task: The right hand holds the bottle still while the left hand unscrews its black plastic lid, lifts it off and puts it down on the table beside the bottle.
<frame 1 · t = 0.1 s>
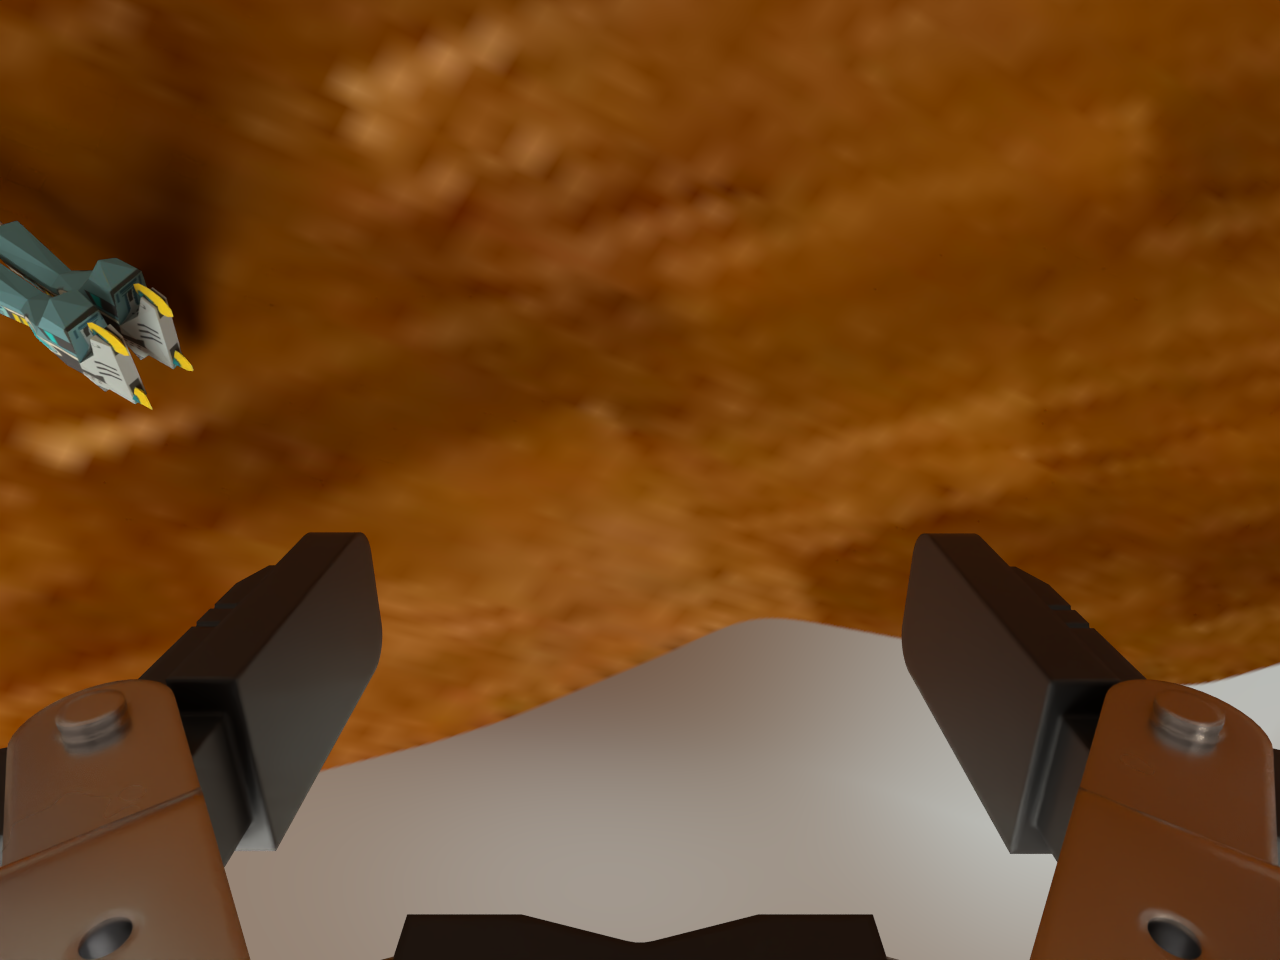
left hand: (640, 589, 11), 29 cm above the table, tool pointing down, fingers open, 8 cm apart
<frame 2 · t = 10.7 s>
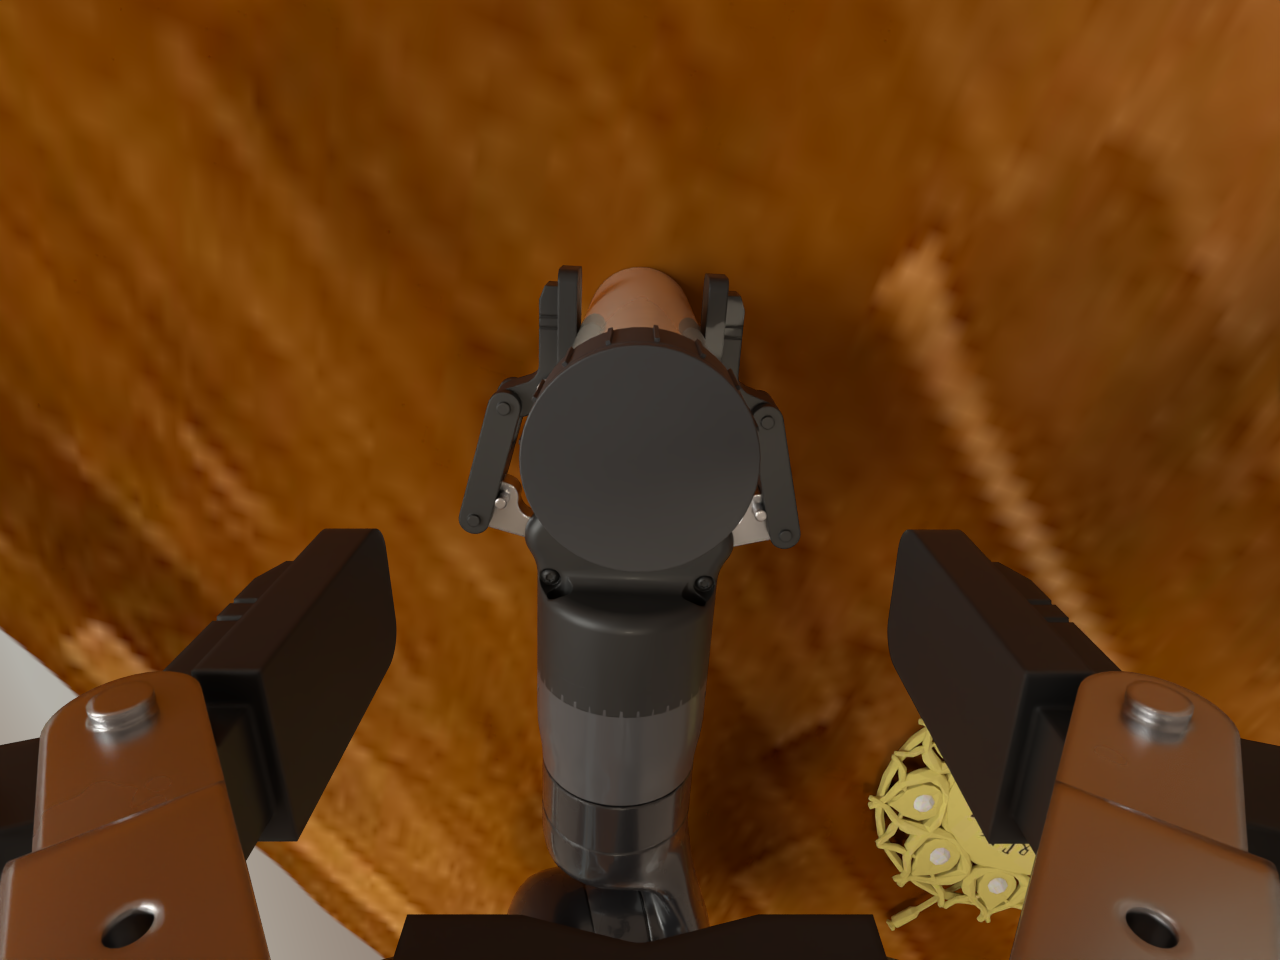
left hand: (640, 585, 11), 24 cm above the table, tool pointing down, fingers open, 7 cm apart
right hand: (642, 274, 27), fingers closed on bottle, 4 cm apart
bottle: (639, 320, 34), on the table, touching right hand
decorative object: (1008, 813, 44), on the table
lid: (640, 460, 16), point 19 cm above the table, screwed on, not yet turned
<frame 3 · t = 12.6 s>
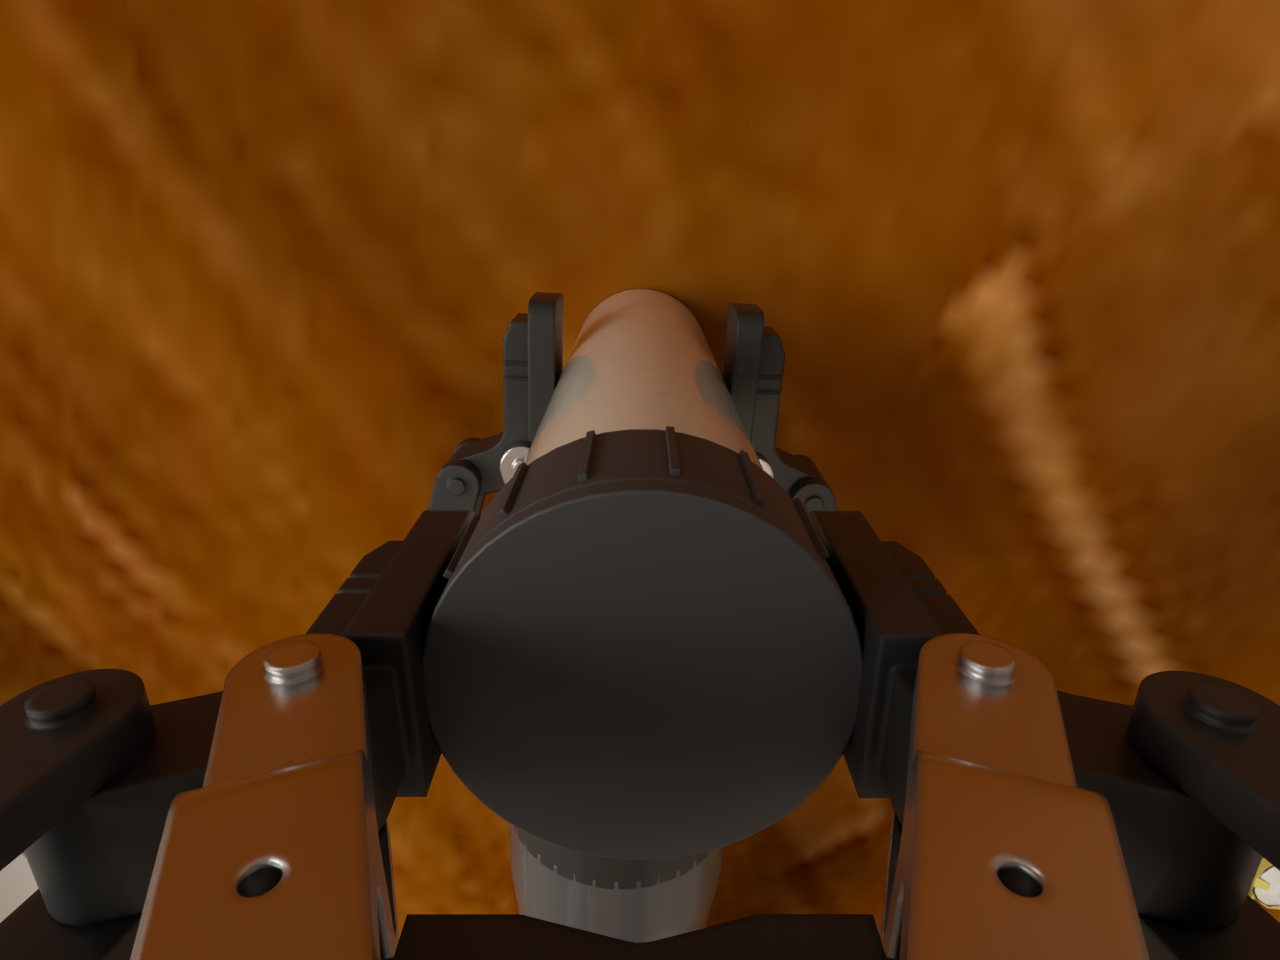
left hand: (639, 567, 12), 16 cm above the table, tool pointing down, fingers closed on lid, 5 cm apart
bottle: (641, 355, 27), on the table, touching right hand
decorative object: (1081, 935, 37), on the table
lid: (642, 677, 9), point 19 cm above the table, screwed on, not yet turned, touching left hand
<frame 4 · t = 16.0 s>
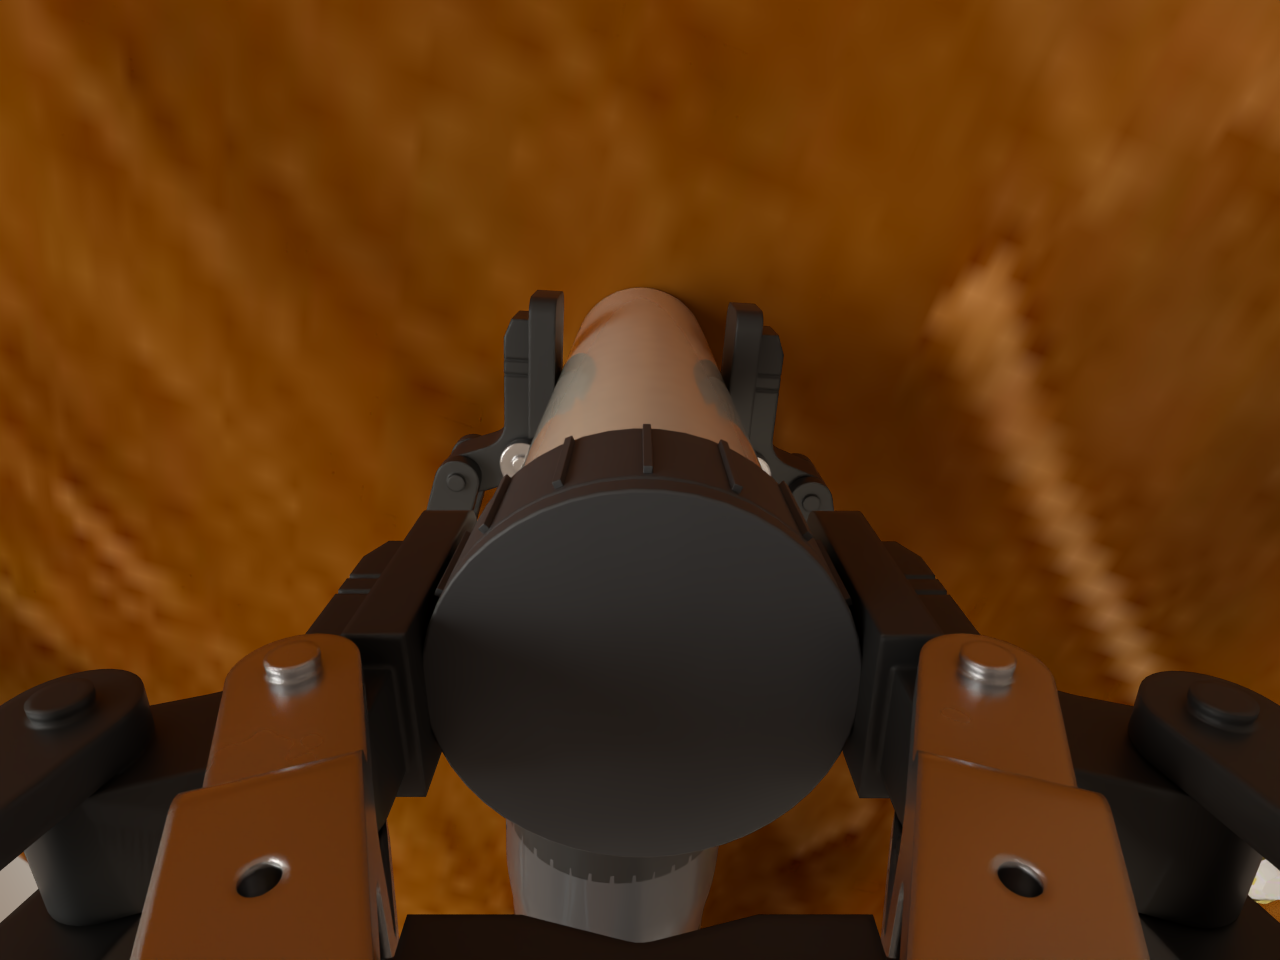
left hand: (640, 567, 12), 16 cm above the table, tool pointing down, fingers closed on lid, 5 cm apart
bottle: (640, 354, 27), on the table, touching right hand
decorative object: (1070, 930, 37), on the table
lid: (641, 675, 9), point 19 cm above the table, turned 74° so far, risen 0.1 cm, still on its thread, touching left hand
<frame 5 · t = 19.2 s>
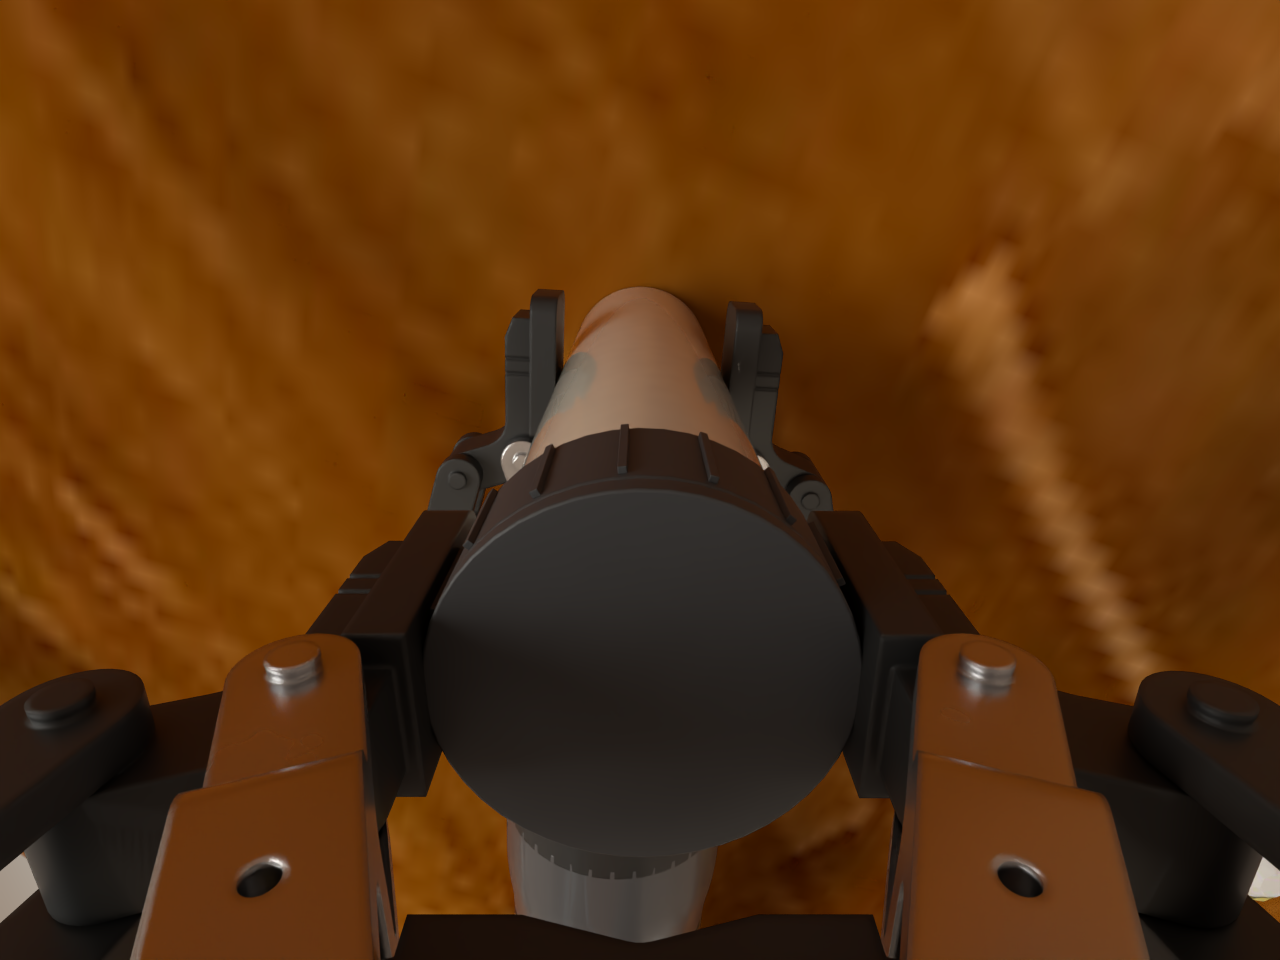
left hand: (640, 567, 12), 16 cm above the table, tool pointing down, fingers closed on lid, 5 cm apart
bottle: (640, 352, 27), on the table, touching right hand
decorative object: (1069, 927, 37), on the table
lid: (642, 675, 9), point 19 cm above the table, turned 148° so far, risen 0.3 cm, still on its thread, touching left hand
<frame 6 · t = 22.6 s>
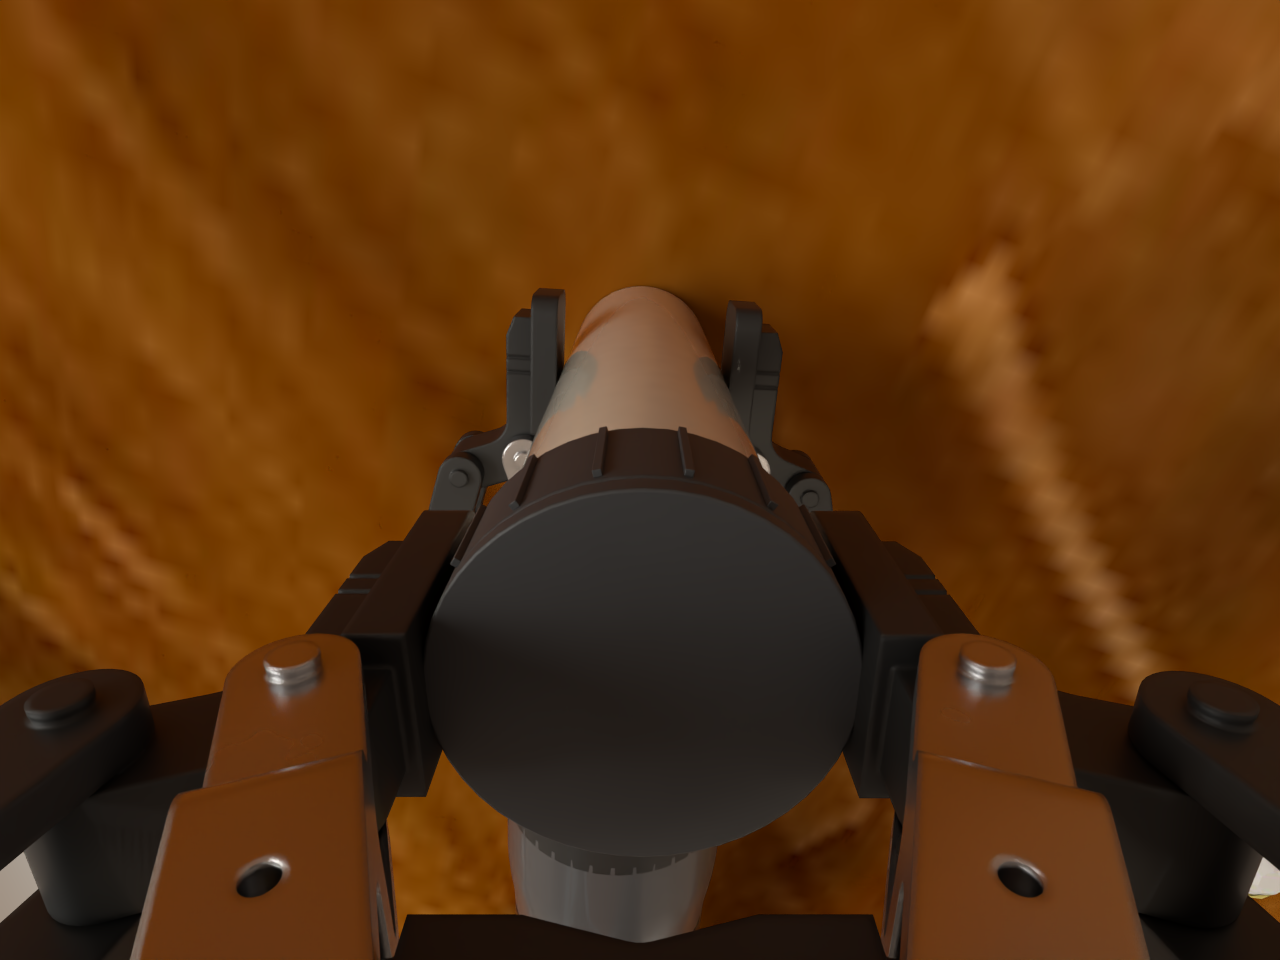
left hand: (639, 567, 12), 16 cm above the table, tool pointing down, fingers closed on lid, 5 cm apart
bottle: (641, 352, 27), on the table, touching right hand
decorative object: (1067, 925, 38), on the table
lid: (642, 675, 9), point 19 cm above the table, turned 222° so far, risen 0.4 cm, still on its thread, touching left hand
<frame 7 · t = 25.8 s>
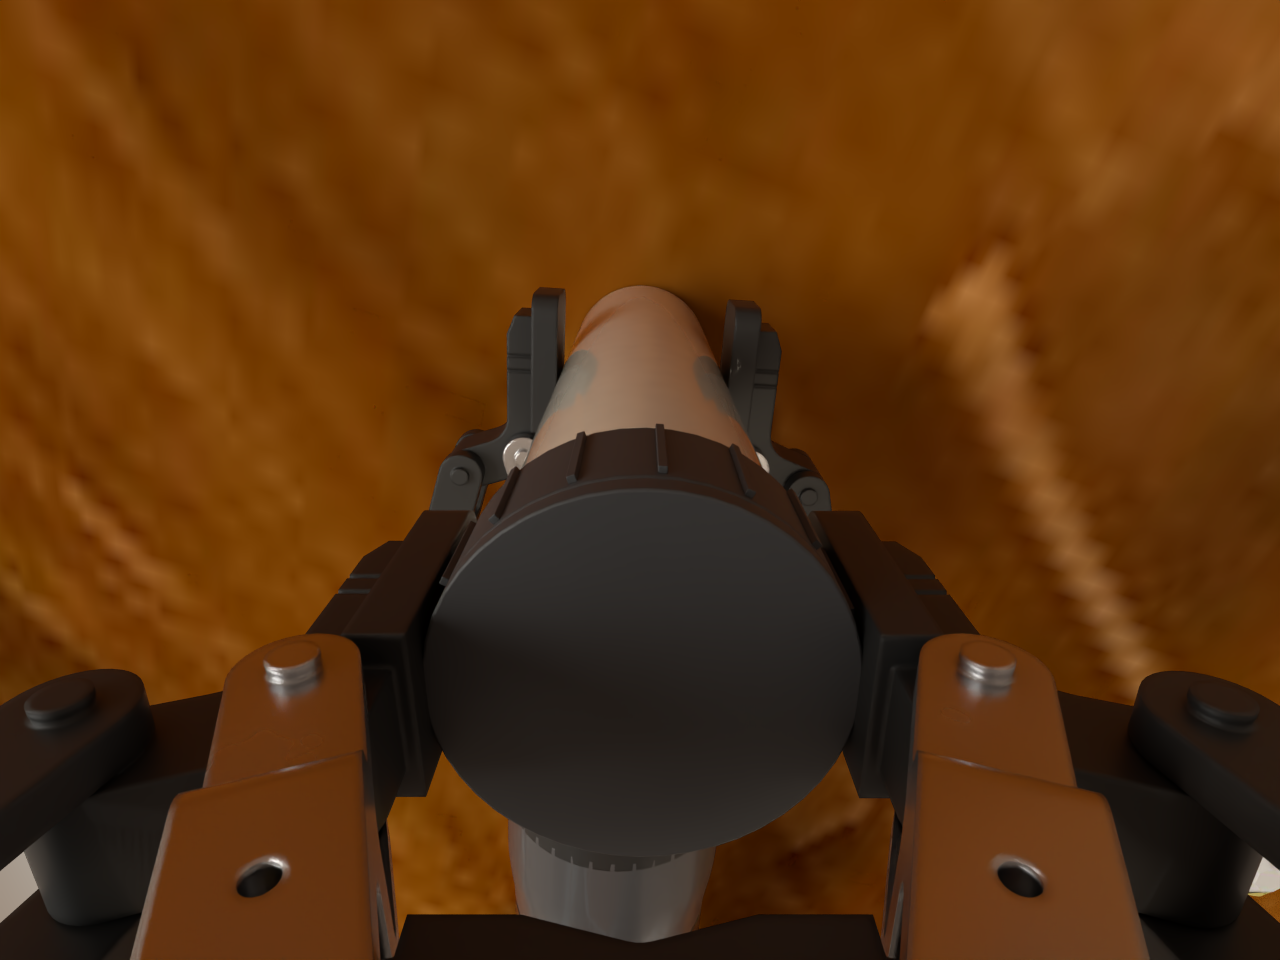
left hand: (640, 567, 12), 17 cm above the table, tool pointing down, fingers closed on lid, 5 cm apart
bottle: (640, 351, 27), on the table, touching right hand
decorative object: (1066, 922, 38), on the table
lid: (642, 675, 9), point 19 cm above the table, turned 296° so far, risen 0.5 cm, still on its thread, touching left hand
when the left hand's fingers open (0 cm above the table, at t = 32.3 s): lid drops 1 cm, point 2 cm above the table.
when the right hand's fingers open (6 cm above the table, at t = 33.4 s): bottle stays where it is, on the table.
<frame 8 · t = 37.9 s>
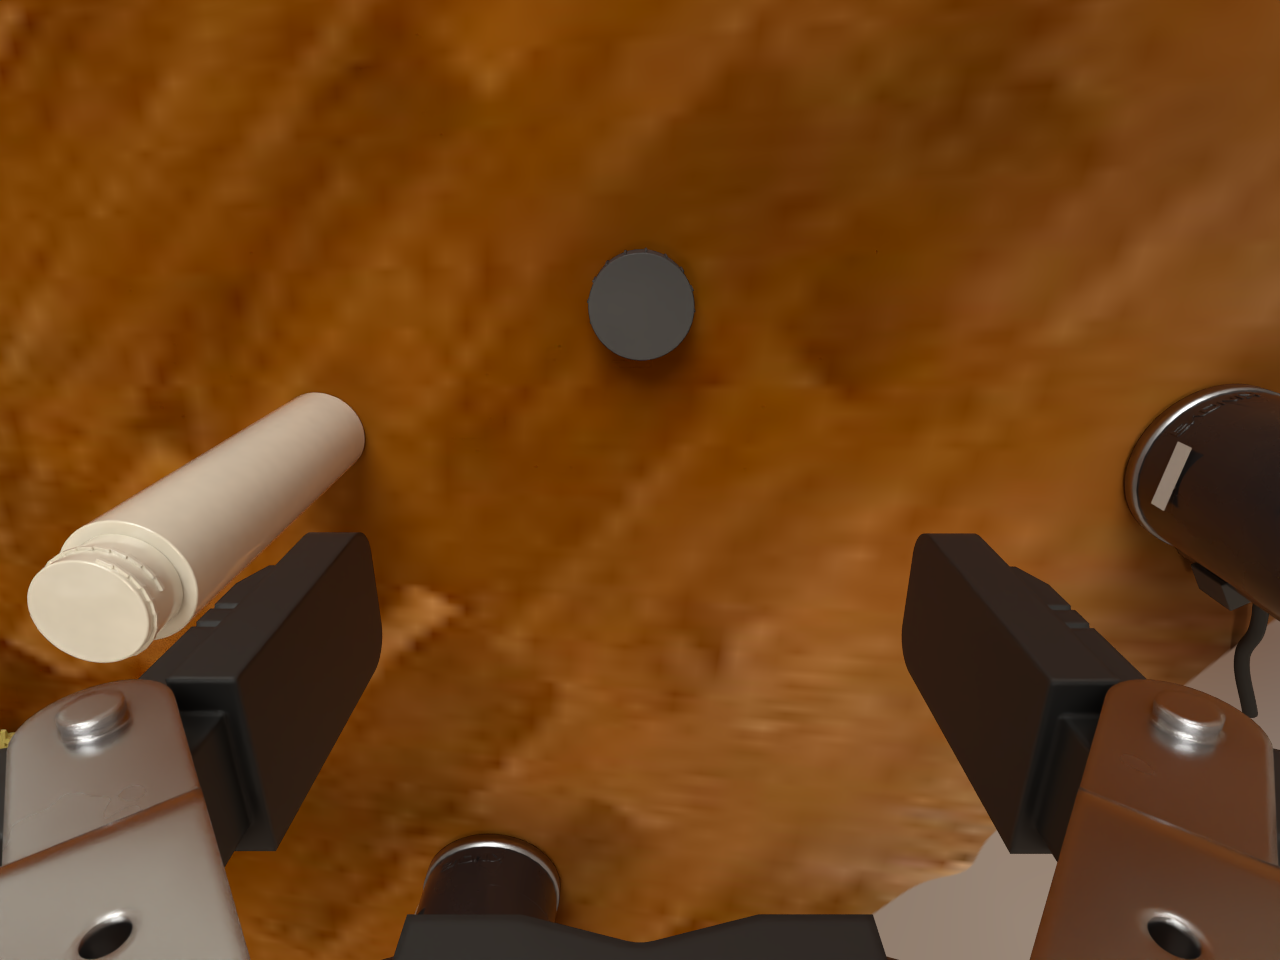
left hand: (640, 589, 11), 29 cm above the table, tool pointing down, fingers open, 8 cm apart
bottle: (322, 433, 41), on the table
lid: (641, 306, 37), point 2 cm above the table, off its thread
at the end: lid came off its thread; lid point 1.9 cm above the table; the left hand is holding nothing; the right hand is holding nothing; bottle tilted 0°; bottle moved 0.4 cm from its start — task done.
